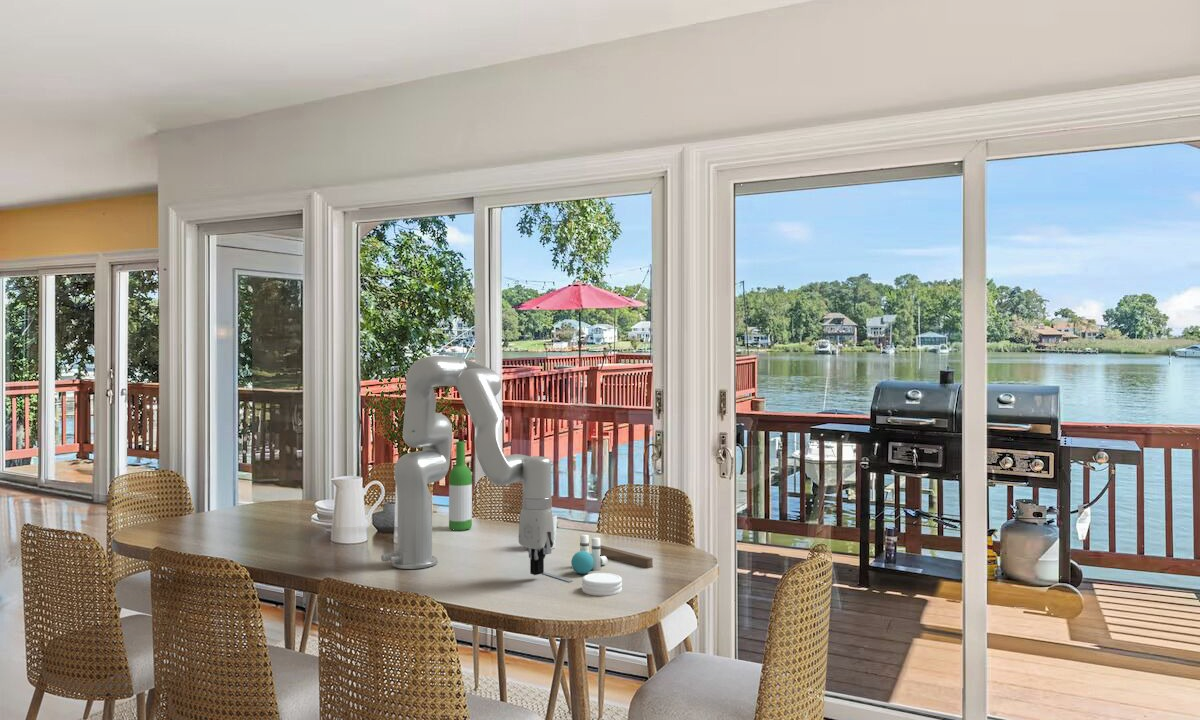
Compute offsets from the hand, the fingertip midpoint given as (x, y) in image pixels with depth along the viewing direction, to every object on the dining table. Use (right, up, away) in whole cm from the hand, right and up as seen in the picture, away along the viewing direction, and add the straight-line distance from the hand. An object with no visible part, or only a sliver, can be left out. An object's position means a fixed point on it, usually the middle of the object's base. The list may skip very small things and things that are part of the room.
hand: (537, 573), depth 213 cm
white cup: (-1, -2, +37) cm, 37 cm away
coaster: (+17, -2, -10) cm, 20 cm away
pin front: (+11, 0, +10) cm, 15 cm away
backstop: (+23, -2, +21) cm, 31 cm away
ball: (+12, +1, +6) cm, 13 cm away
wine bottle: (-31, -2, +66) cm, 73 cm away
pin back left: (+12, -2, +14) cm, 19 cm away
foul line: (+4, -2, +3) cm, 5 cm away
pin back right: (+15, -2, +10) cm, 19 cm away
